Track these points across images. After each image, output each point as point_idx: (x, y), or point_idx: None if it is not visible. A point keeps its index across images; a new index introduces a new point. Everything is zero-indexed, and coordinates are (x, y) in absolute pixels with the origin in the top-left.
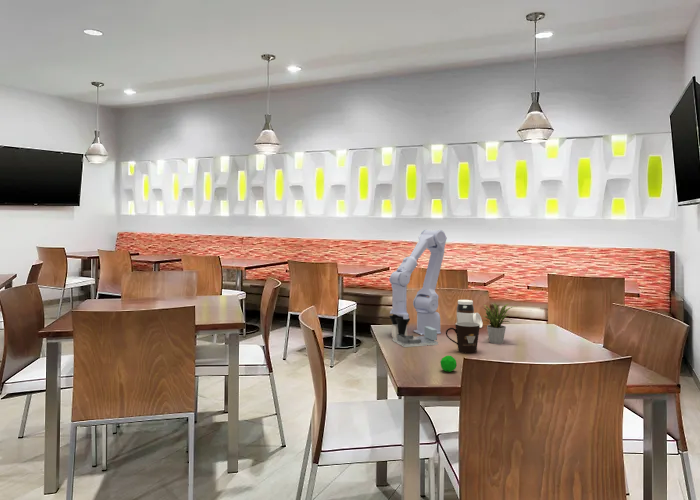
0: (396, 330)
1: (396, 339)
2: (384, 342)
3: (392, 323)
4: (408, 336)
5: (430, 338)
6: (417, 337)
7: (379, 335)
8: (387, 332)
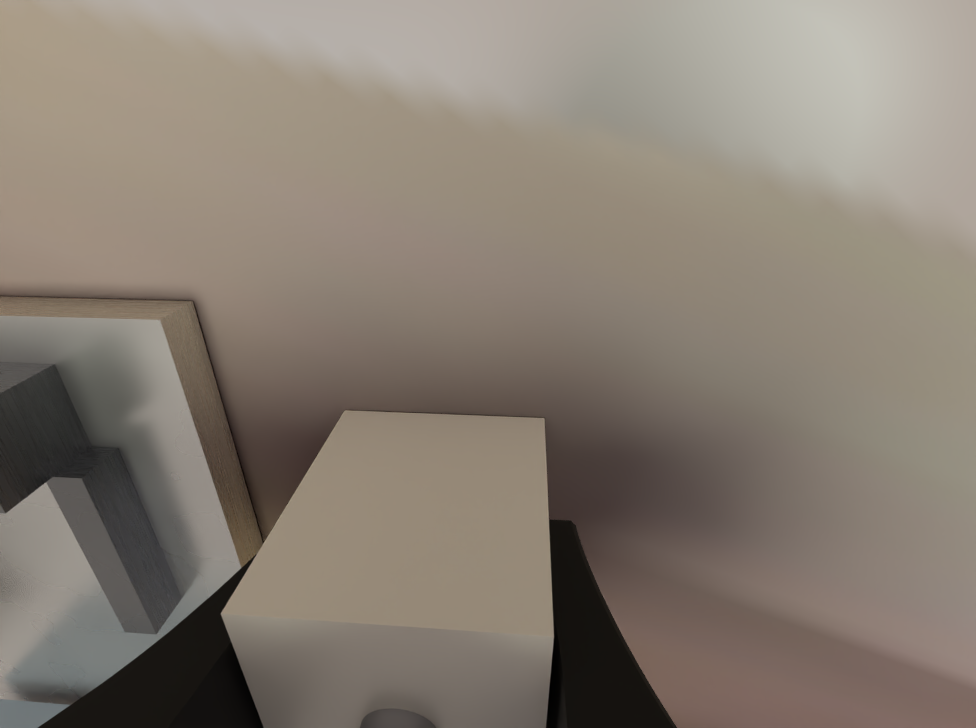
0: (278, 538)
1: (30, 344)
2: (13, 65)
3: (642, 697)
4: (100, 566)
5: (19, 715)
6: None
7: (772, 234)
8: (937, 487)
